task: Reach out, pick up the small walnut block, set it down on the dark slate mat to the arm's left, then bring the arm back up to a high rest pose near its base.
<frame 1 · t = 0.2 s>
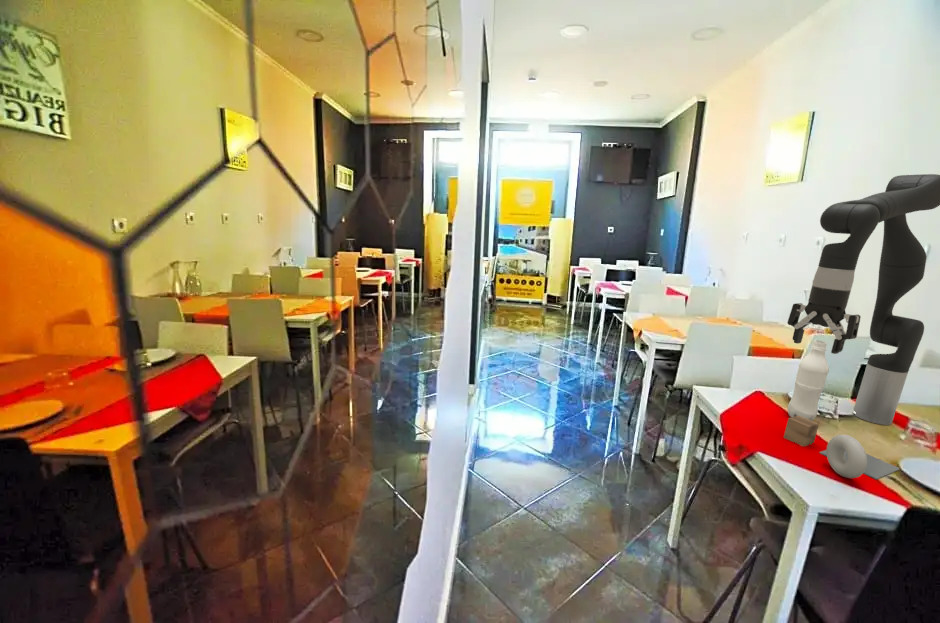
hand: (815, 347, 109), 28 cm above the table, fingers open, 8 cm apart
water bottle: (799, 418, 132), on the table
slate mat: (858, 461, 109), on the table
donut: (840, 475, 103), on the table
walnut block: (798, 440, 118), on the table
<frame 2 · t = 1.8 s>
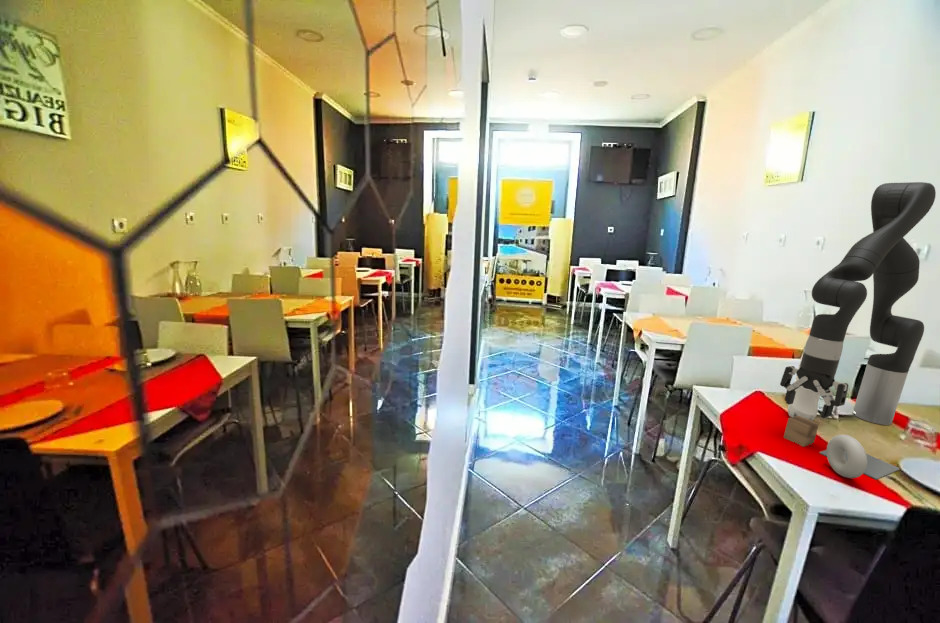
hand: (806, 410, 116), 9 cm above the table, fingers open, 8 cm apart
nothing on the table moved.
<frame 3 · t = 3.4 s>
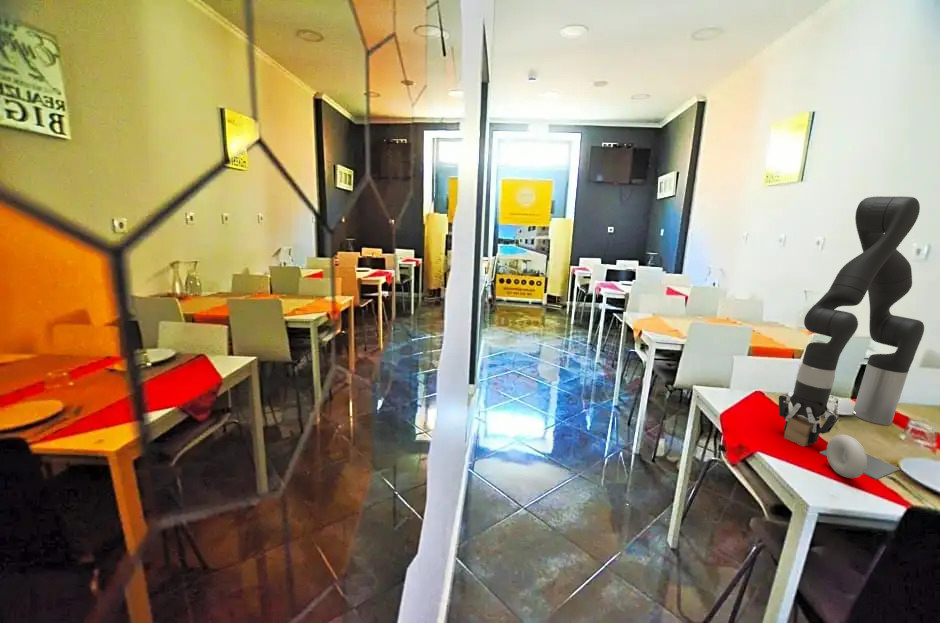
hand: (799, 438, 118), 1 cm above the table, fingers closed on walnut block, 5 cm apart
walnut block: (798, 440, 118), on the table, touching gripper
everything else where it was.
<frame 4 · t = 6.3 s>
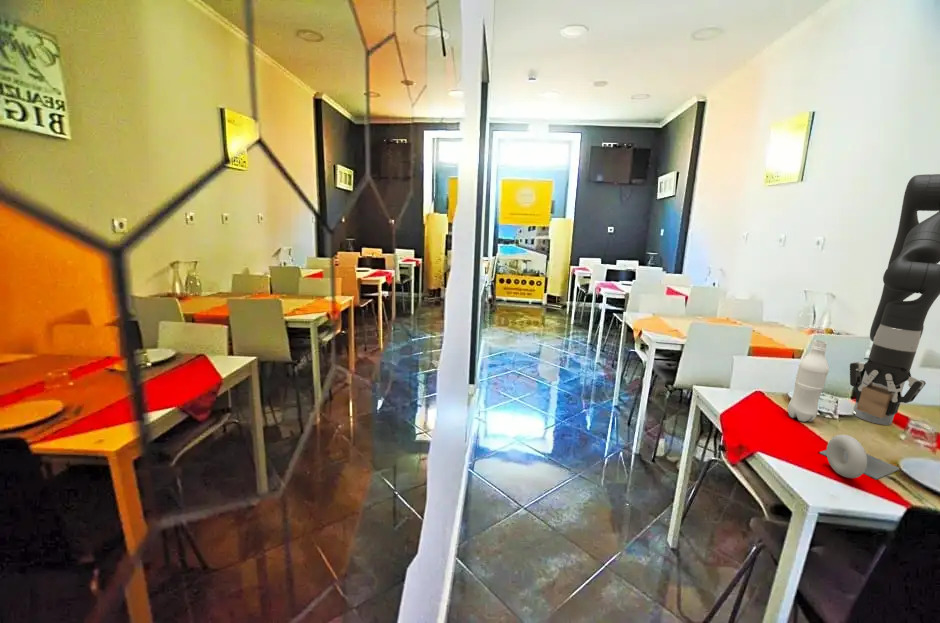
hand: (874, 409, 106), 14 cm above the table, fingers closed on walnut block, 5 cm apart
walnut block: (873, 412, 106), point 14 cm above the table, touching gripper
everything else where it was.
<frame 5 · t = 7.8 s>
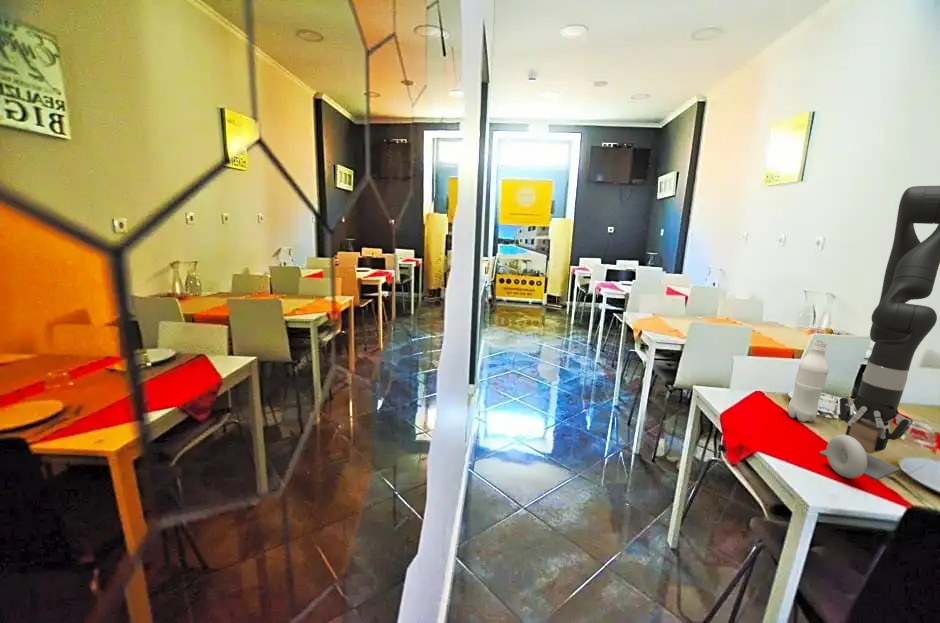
hand: (863, 444, 108), 5 cm above the table, fingers closed on walnut block, 5 cm apart
walnut block: (862, 447, 108), point 4 cm above the table, touching gripper
everything else where it was.
when the fingers open (2 cm above the table, at t = 9.2 s): walnut block drops 1 cm, resting on slate mat.
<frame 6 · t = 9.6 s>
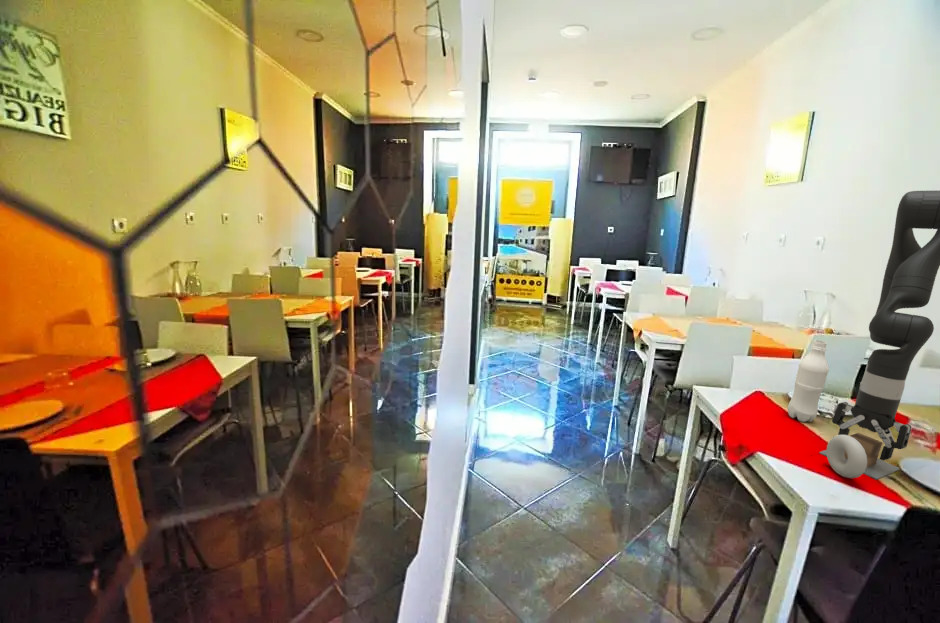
hand: (861, 450, 108), 3 cm above the table, fingers open, 8 cm apart
walnut block: (858, 460, 109), resting on slate mat
everything else where it was.
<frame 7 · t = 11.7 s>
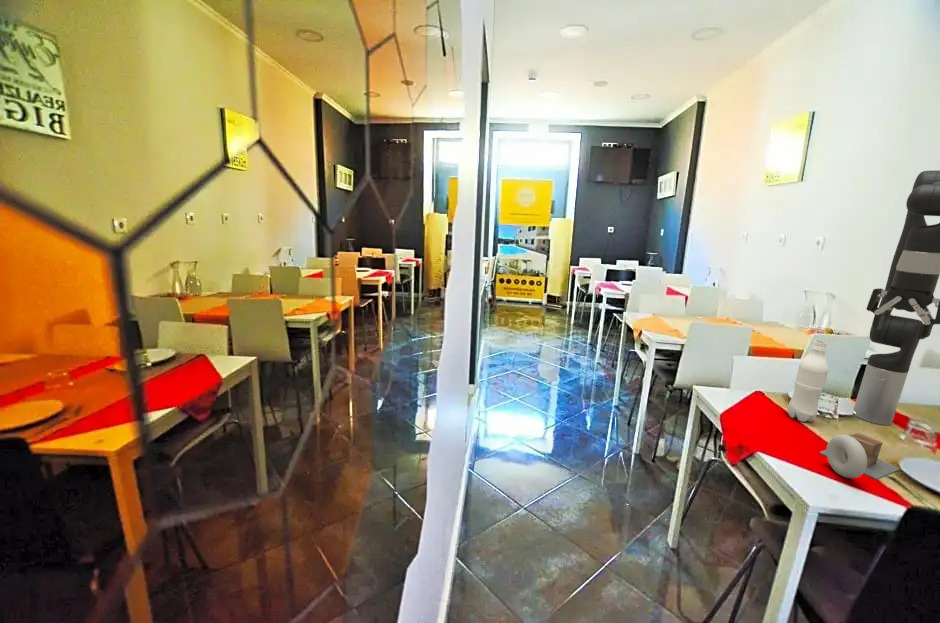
hand: (898, 333, 107), 33 cm above the table, fingers open, 8 cm apart
nothing on the table moved.
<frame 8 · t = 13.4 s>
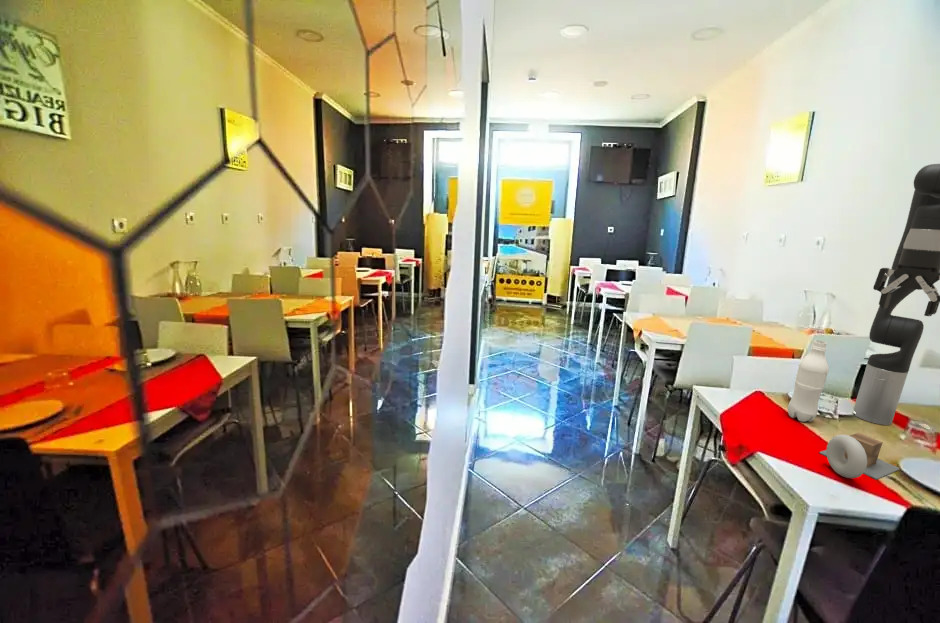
hand: (904, 311, 108), 38 cm above the table, fingers open, 8 cm apart
nothing on the table moved.
at the end: walnut block 0.0 cm from the slate mat (horizontally); walnut block tilted 0°; the gripper is holding nothing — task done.
